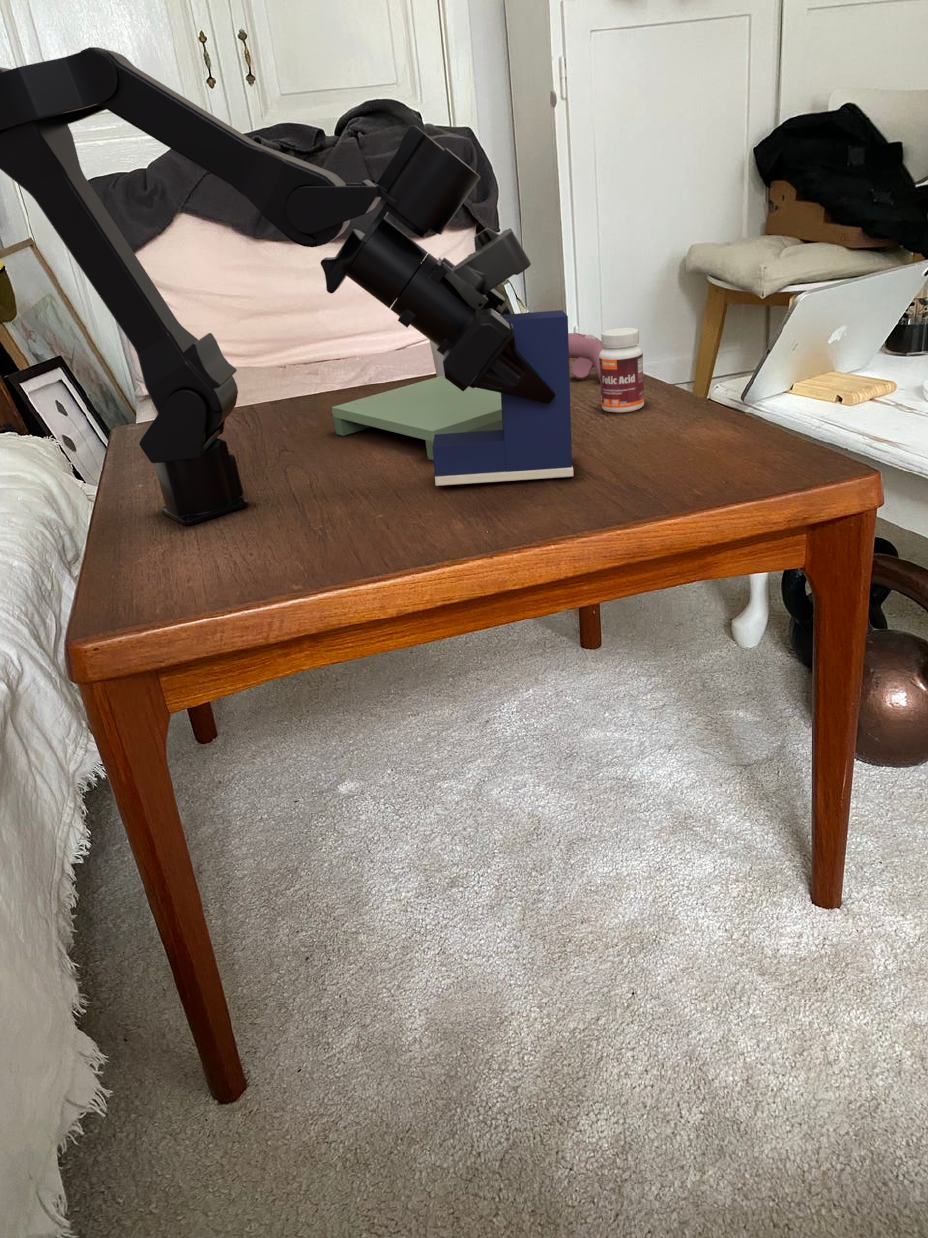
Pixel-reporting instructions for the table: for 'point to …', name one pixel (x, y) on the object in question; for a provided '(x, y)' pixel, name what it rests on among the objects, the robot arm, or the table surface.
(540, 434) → the boot
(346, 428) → the shoe shelf
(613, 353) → the pill bottle
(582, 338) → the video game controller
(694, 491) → the table surface
